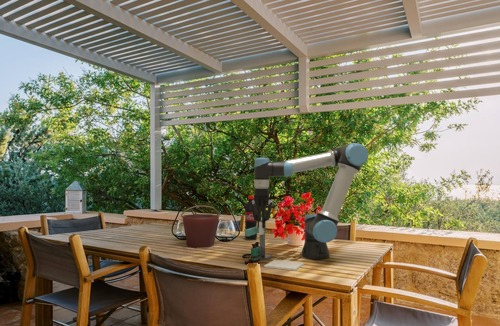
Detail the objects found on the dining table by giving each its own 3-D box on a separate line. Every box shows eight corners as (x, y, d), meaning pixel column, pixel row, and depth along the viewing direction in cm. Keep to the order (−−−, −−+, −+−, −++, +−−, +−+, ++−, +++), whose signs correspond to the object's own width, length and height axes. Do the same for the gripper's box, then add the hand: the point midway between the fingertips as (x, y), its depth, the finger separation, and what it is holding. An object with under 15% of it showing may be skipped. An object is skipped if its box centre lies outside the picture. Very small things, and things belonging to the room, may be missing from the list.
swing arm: (260, 230, 217) (260, 224, 217) (266, 230, 215) (266, 225, 215) (243, 235, 197) (243, 229, 197) (249, 236, 195) (249, 230, 195)
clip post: (271, 257, 216) (271, 231, 216) (266, 260, 209) (266, 233, 209) (258, 255, 219) (258, 230, 219) (252, 258, 212) (252, 232, 212)
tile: (304, 264, 199) (304, 262, 199) (295, 270, 186) (295, 268, 186) (274, 261, 206) (274, 259, 206) (264, 267, 193) (264, 265, 193)
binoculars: (244, 241, 208) (262, 241, 204) (246, 262, 207) (264, 261, 203) (238, 244, 199) (256, 244, 196) (239, 265, 199) (258, 265, 195)
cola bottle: (242, 239, 272) (242, 195, 272) (249, 237, 279) (249, 195, 279) (252, 240, 267) (252, 196, 268) (259, 239, 274) (259, 195, 275)
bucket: (222, 243, 259) (222, 204, 259) (216, 249, 237) (216, 207, 237) (185, 242, 261) (185, 204, 262) (176, 248, 239) (176, 207, 240)
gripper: (247, 187, 202) (246, 234, 201) (270, 188, 196) (270, 236, 196) (252, 187, 208) (252, 232, 208) (276, 188, 203) (275, 234, 202)
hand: (261, 234), depth 202 cm, fingers closed
